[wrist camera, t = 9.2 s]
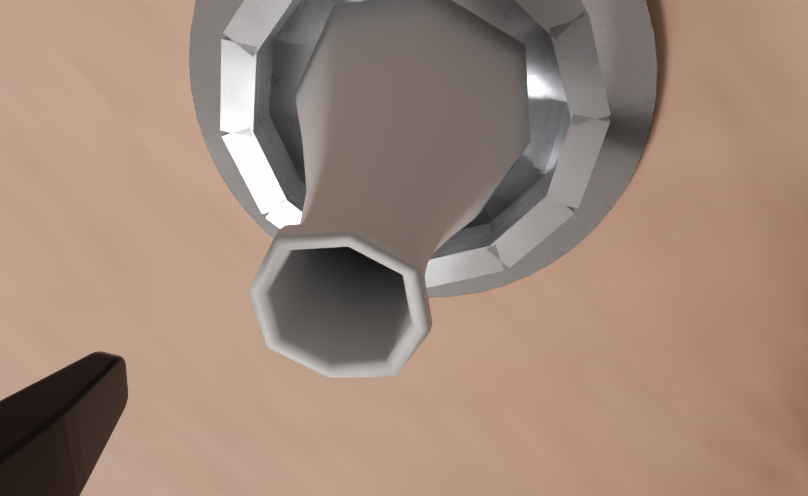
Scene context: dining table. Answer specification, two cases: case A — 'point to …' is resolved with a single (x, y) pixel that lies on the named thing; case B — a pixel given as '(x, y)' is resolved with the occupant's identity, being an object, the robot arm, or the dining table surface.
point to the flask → (388, 177)
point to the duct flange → (523, 186)
